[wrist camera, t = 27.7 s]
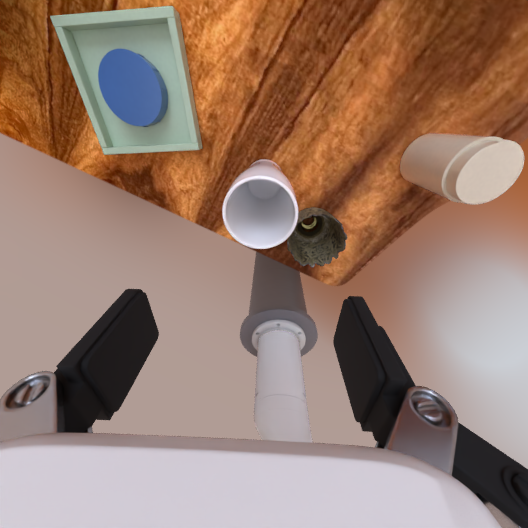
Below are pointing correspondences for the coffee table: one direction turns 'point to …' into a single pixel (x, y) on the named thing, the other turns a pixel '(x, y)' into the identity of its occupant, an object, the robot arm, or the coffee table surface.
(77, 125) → the coffee table surface
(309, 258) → the grey rounded piece
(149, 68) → the lid
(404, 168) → the jar
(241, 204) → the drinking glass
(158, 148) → the tray
